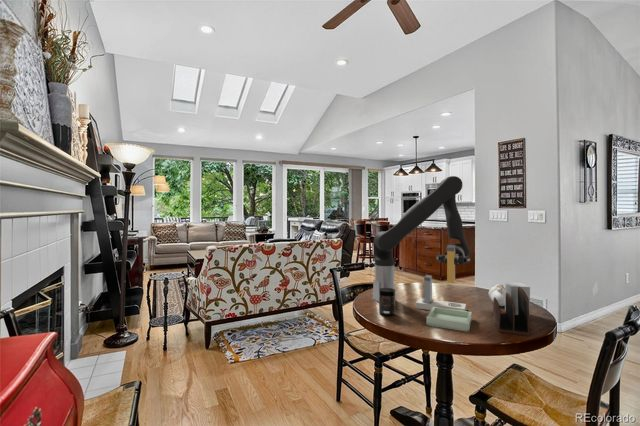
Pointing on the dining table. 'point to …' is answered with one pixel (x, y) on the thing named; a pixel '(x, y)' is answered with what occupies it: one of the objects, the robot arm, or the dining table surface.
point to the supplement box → (516, 293)
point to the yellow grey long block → (450, 263)
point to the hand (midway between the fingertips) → (450, 261)
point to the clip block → (440, 305)
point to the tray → (449, 319)
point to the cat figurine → (498, 294)
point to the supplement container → (387, 301)
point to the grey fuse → (428, 289)
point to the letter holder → (513, 315)
